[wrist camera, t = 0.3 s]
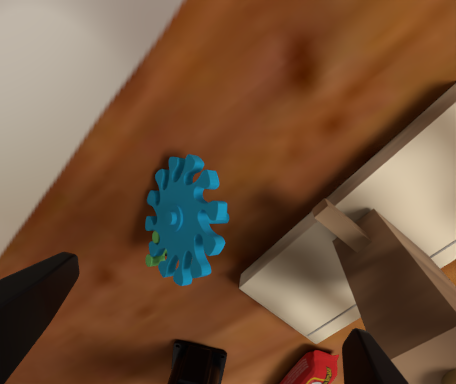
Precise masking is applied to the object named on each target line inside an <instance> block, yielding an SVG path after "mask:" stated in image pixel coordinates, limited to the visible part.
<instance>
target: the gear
mask: <svg viewBox="0 0 456 384" xmlns="http://www.w3.org/2000/svg"><path fill="white" fill-rule="evenodd" d="M203 166H204V162H203V161H202V159H201V158H200V157H198V156H195V155H190V154H188V155H187V157H186V159H184V158H179V157H170V159H169V170H165V169H160V170H159V171H158V172H157V173H156V174H155V179H156V182H157V184H158V186H159V190H160V191H154V190H151V191H150V193H149V195H148V198H147V202H148V204H149V205H151V206H152V207H153V208H154V210H155V212H156V215H157V216H147V217H146V223H145V229H146V230H147V231H154V232H153V234H152V240H153V241H151V242H150V243H149V251H150V254H148V255H147V256H146V265H147V266H148V267H149V266H156V265H158V268H159V271H160V273H161V275H162V276H163V278H164V277H169V276H173V280H174V282H175V283H176V284H178V285H180V286H184V285H188V284H191V283H192V278H198V277H203V276H207V275H209V274H211V266H210V264H209V262H208V261H207V259H206V256H205V253H206V254H207V255H208V256H212V255H218V254H219V253H220V252H221V251H222V249H223V247H224V245H225V240H224V238H223V237H222V236H220V235H217V234H216V233H215V232H214V231H213V230H212V229H211V227H210V225H209V224H221V223H227V222H228V221H229V215H228V213H227V203H226V202H224V201H211V202H210V203H208V202H207V201H205V200H204V199H203V190H204V189H217V188H218V187H219V179H218V175H217V173H216V171H212V170H204V171H202V173H201V175H200V177H199V178H198V180H197V181H196V182H194V183H193V176H194V174H196V173H198V172H200V171H201V170H202V169H203ZM181 173H182V174H181ZM204 251H205V253H204ZM164 255H165V256H167V259H166V260H165V257H164ZM178 259H179V267H178V268H177V269H176V264H177V261H178ZM191 261H192V264H191ZM175 269H176V270H175Z"/></svg>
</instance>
